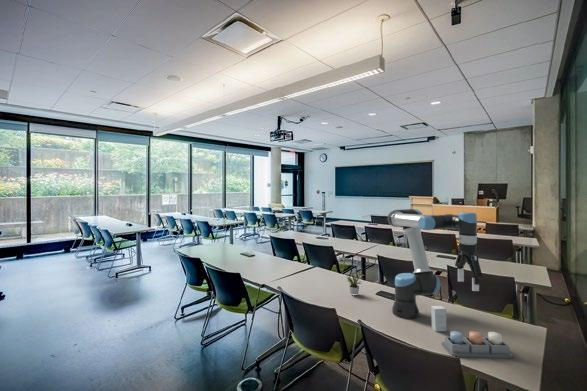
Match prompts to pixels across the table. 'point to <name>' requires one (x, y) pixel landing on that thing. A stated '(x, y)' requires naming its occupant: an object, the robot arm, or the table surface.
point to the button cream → (495, 338)
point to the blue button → (456, 337)
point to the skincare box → (438, 318)
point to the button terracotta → (475, 338)
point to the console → (477, 349)
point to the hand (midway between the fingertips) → (467, 285)
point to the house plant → (354, 287)
